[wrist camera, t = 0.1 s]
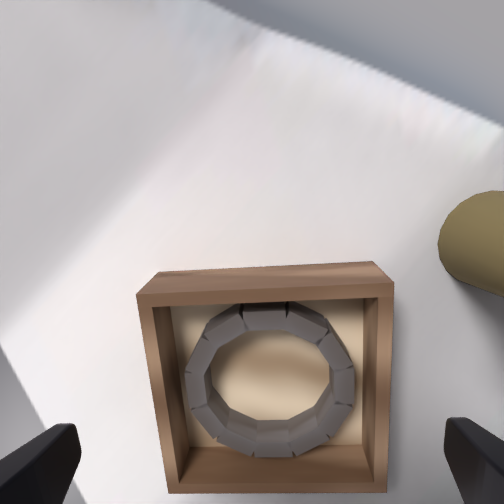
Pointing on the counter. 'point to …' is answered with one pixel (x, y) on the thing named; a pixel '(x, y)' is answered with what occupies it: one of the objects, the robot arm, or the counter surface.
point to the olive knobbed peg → (476, 242)
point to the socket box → (271, 377)
